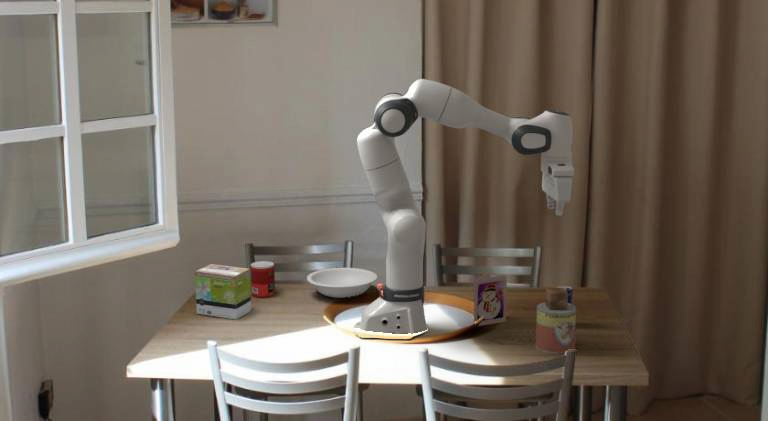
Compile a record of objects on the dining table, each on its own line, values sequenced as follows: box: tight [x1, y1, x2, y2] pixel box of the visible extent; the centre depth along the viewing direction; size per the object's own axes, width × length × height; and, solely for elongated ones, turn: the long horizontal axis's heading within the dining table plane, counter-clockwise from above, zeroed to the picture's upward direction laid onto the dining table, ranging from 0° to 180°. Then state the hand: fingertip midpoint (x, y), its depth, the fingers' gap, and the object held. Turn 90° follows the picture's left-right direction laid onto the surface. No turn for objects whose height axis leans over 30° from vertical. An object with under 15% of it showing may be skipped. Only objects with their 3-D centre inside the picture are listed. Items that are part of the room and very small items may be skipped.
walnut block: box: [545, 287, 568, 310], centre depth 296 cm, size 5×5×5 cm
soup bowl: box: [306, 267, 378, 299], centre depth 350 cm, size 24×24×7 cm
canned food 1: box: [250, 260, 276, 299], centre depth 350 cm, size 8×8×11 cm
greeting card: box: [473, 271, 508, 327], centre depth 321 cm, size 11×7×15 cm, turn 115°
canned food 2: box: [535, 301, 577, 354], centre depth 298 cm, size 11×11×12 cm
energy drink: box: [555, 285, 573, 305], centre depth 317 cm, size 5×5×12 cm
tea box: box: [194, 263, 252, 321], centre depth 331 cm, size 15×10×15 cm, turn 68°
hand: (554, 211), depth 304 cm, fingers open, 8 cm apart
